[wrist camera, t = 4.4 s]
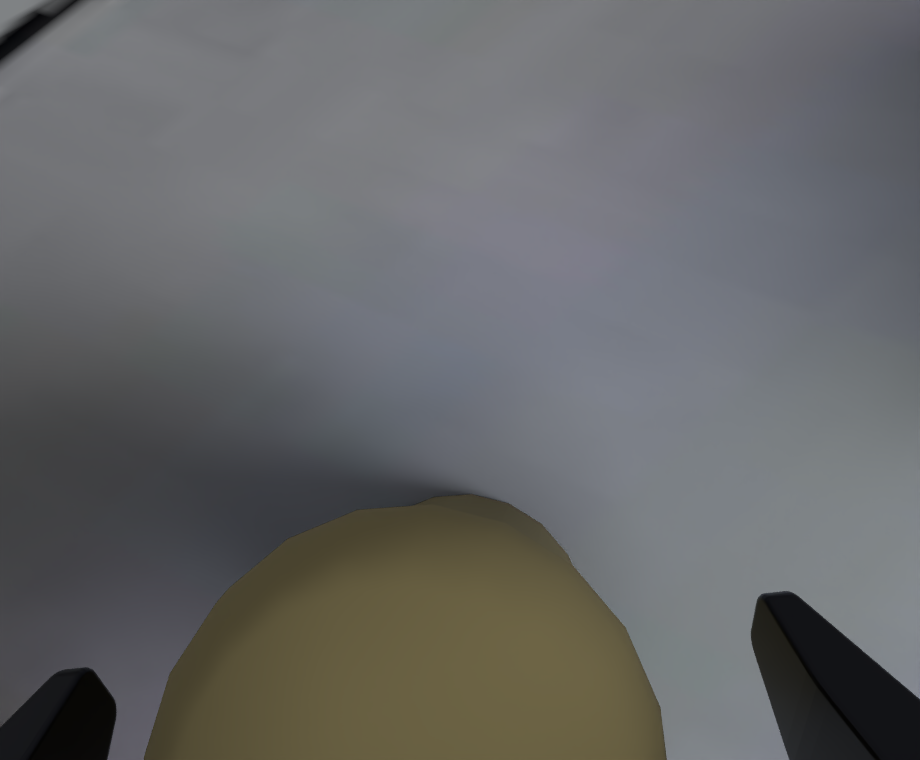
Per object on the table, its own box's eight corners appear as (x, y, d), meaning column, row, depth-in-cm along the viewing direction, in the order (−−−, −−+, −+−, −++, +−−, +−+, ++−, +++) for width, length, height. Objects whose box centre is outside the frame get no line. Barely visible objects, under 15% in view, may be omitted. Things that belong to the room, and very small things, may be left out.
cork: (293, 576, 16) (-97, 688, 6) (501, 448, 17) (506, 325, 6) (416, 812, 15) (217, 1520, 4) (638, 669, 16) (948, 1010, 5)
